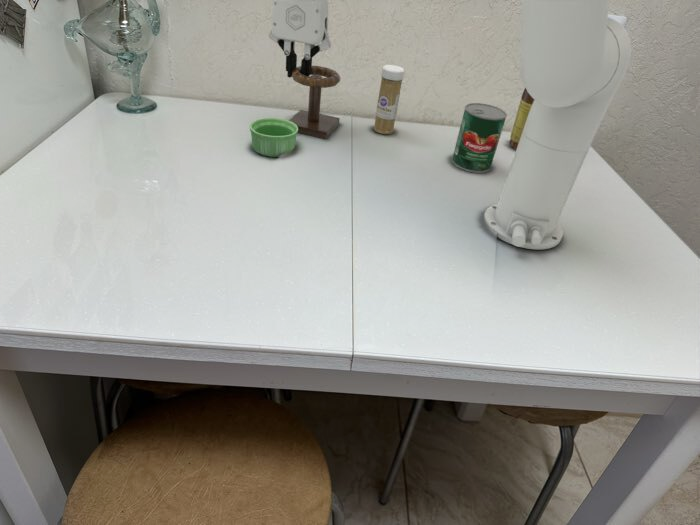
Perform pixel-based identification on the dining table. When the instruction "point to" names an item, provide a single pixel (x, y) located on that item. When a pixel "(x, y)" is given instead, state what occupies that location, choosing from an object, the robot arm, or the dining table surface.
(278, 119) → the ramekin
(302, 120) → the stand
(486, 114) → the canned tomato
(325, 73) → the ring
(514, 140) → the sauce bottle
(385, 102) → the sprinkles bottle
